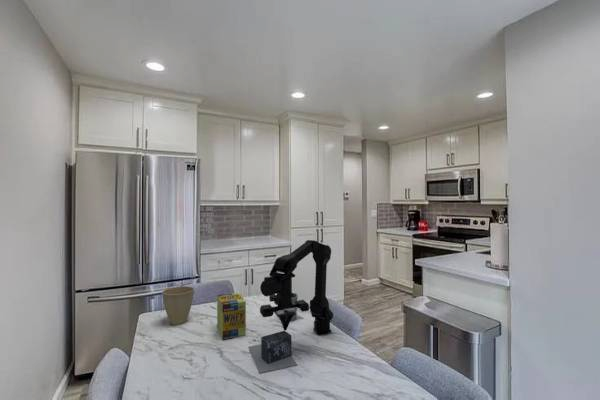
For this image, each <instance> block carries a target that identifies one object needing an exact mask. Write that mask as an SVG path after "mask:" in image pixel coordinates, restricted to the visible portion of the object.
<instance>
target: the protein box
mask: <svg viewBox="0 0 600 400" xmlns="http://www.w3.org/2000/svg"><path fill="white" fill-rule="evenodd" d="M216 298H217V299H216V300H217V302H216V303H217V304H216V307H217V308H216V309H217V311H216V316H217V317H216V319H217V320H216V322H217V324H216V327H217V330H218V333H219V335H220V337H221V340H222V341H227V340H232V339H237V338H243V337H246V336H247V334H246V333H247V328H246V327H247V325H246V324H247V321H246V320H247V317H246V316H247V314H246V312H247V311H246V309H247V308H246V302H247V301H246V300H245V299H244V298H243V296H242V295H241V293H240V292H231V293H230V292H229V293H221V294H217V295H216Z"/></svg>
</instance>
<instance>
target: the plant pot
mask: <svg viewBox="0 0 600 400" xmlns="http://www.w3.org/2000/svg"><path fill="white" fill-rule="evenodd" d="M161 294H162V299H163V301H162V302H163V306H164V309H165V310H164V311H165V313H166V315H167V318H168V322H169V323H170V325H173V326H179V325H182V324H185V323H186V322H187V321H188V317H189V315H190V313H191V312H190V311H191V309H192V304H193V300H194V294H195V287H193V286H189V285H188V286H185V285H183V286H182V285H181V286H175V287H169V288H166V289H164V290H162V292H161Z"/></svg>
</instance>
